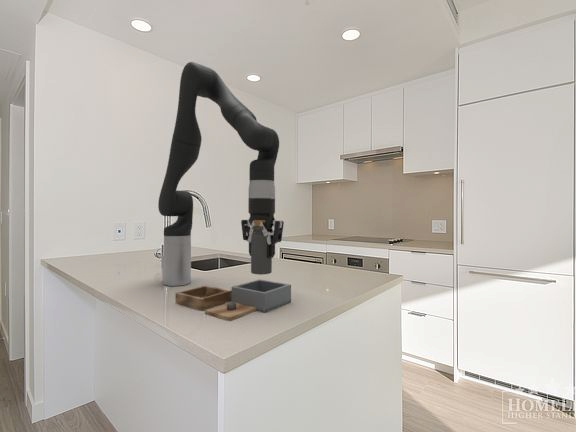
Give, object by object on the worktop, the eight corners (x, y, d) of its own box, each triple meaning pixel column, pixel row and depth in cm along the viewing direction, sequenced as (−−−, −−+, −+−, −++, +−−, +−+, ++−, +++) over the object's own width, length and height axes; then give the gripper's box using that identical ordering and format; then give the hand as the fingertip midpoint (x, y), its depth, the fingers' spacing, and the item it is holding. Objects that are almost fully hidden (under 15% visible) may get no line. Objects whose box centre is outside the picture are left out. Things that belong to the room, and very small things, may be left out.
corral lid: (204, 313, 81) (204, 305, 81) (232, 304, 89) (232, 297, 89) (229, 320, 76) (229, 312, 76) (257, 310, 84) (257, 302, 84)
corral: (175, 303, 89) (175, 293, 89) (206, 295, 98) (206, 285, 98) (201, 310, 83) (201, 299, 83) (231, 301, 92) (231, 290, 92)
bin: (231, 304, 89) (231, 286, 89) (259, 295, 99) (259, 279, 98) (264, 312, 82) (264, 293, 82) (291, 301, 92) (291, 284, 92)
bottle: (268, 275, 86) (268, 220, 86) (248, 274, 88) (248, 219, 87) (273, 271, 92) (274, 219, 92) (254, 270, 93) (254, 219, 93)
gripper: (234, 197, 91) (233, 256, 91) (273, 196, 82) (273, 260, 83) (251, 198, 97) (251, 253, 97) (290, 197, 89) (290, 257, 89)
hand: (261, 256), depth 90 cm, fingers closed on bottle, 6 cm apart
